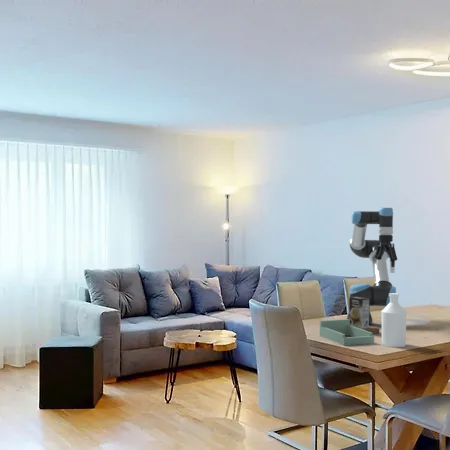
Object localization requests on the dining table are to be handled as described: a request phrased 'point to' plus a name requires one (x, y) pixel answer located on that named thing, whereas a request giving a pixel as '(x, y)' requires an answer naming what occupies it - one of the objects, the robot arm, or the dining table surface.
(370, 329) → the board
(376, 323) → the dining table surface
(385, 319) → the bottle
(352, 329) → the frame
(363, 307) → the coffee box
